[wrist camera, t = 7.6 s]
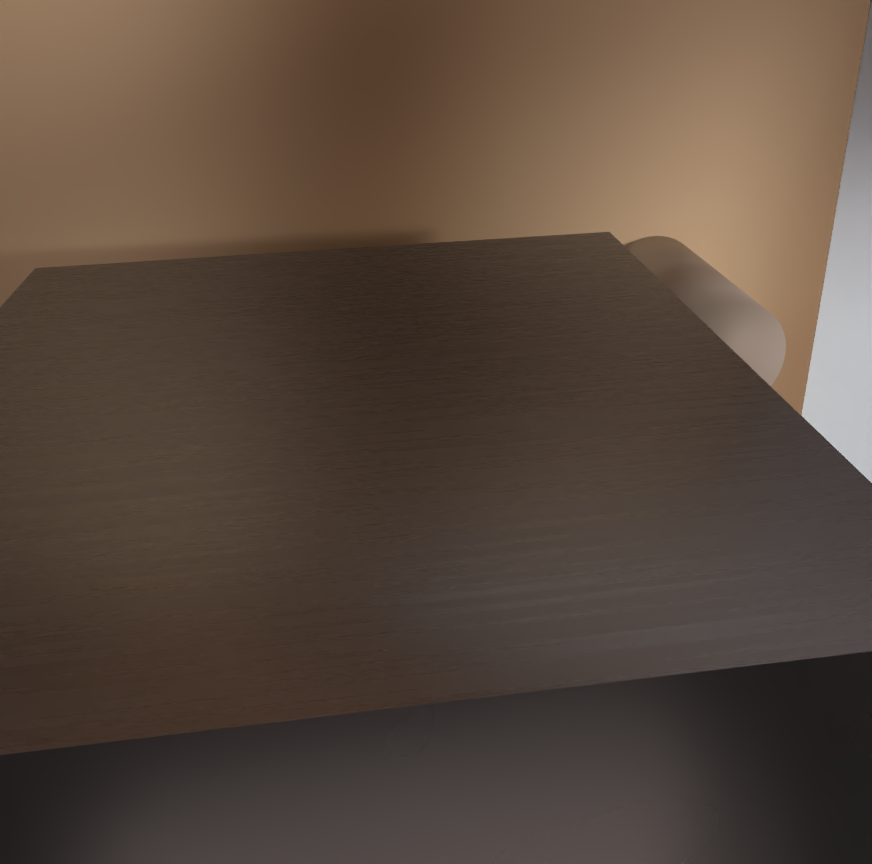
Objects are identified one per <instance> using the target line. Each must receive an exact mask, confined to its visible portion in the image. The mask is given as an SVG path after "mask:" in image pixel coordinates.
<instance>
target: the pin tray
mask: <svg viewBox="0 0 872 864" xmlns="http://www.w3.org/2000/svg"><path fill="white" fill-rule="evenodd" d="M870 4H871V0H0V307H1V306H2V305H3V304H4V302H5V301H6V300H7V299H8V298H9V297H10V296H11V295H12V294H13V292H14V291H15V290H16V289H17V288H18V287H19V286H20V285H21V283H22V282H23V281H24V280H25V279H26V278H27V277H28V276H29V275H30V273H31V272H32V271H33V270H34V269H35V268H45V267H61V266H76V265H92V264H108V263H124V262H139V261H155V260H171V259H187V258H202V257H218V256H234V255H250V254H265V253H281V252H297V251H313V250H328V249H344V248H360V247H376V246H392V245H407V244H423V243H439V242H455V241H470V240H486V239H502V238H518V237H533V236H549V235H565V234H581V233H596V232H610V233H611V234H612V235H613V236H614V237H615V238H616V239H617V240H619V241H620V242H621V243H622V244H623V245H624V246H625V247H626V248H627V249H628V250H629V251H630V252H631V253H632V254H633V255H634V256H635V257H636V258H637V259H638V260H639V261H640V262H641V263H642V264H644V265H645V266H646V267H647V268H648V269H649V270H650V271H651V272H652V273H653V274H654V275H655V276H656V277H657V278H658V279H659V280H660V281H661V282H662V283H663V284H664V285H665V286H666V287H668V288H669V289H670V290H671V291H672V292H673V293H674V294H675V295H676V296H677V297H678V298H679V299H680V300H681V301H682V302H683V303H684V304H685V305H686V306H687V307H688V308H689V309H690V310H691V311H693V312H694V313H695V314H696V315H697V316H698V317H699V318H700V319H701V320H702V321H703V322H704V323H705V324H706V325H707V326H708V327H709V328H710V329H711V330H712V331H713V332H714V333H715V334H717V335H718V336H719V337H720V338H721V339H722V340H723V341H724V342H725V343H726V344H727V345H728V346H729V347H730V348H731V349H732V350H733V351H734V352H735V353H736V354H737V355H738V356H739V357H741V358H742V359H743V360H744V361H745V362H746V363H747V364H748V365H749V366H750V367H751V368H752V369H753V370H754V371H755V372H756V373H757V374H758V375H759V376H760V377H761V378H762V379H763V380H764V381H766V382H767V383H768V384H769V385H770V386H771V387H772V388H773V389H774V390H775V391H776V392H777V393H778V394H779V395H780V396H781V397H782V398H783V399H784V400H785V401H786V402H787V403H788V404H790V405H791V406H792V407H793V408H794V409H795V410H796V411H797V412H798V413H799V414H800V415H801V414H802V408H803V402H804V396H805V390H806V384H807V378H808V372H809V366H810V360H811V354H812V348H813V342H814V336H815V330H816V325H817V319H818V313H819V307H820V301H821V295H822V289H823V283H824V277H825V271H826V265H827V259H828V253H829V247H830V241H831V235H832V230H833V224H834V218H835V212H836V206H837V200H838V194H839V188H840V182H841V176H842V170H843V164H844V158H845V152H846V146H847V140H848V134H849V129H850V123H851V117H852V111H853V105H854V99H855V93H856V87H857V81H858V75H859V69H860V63H861V57H862V51H863V45H864V39H865V34H866V28H867V22H868V16H869V10H870Z"/></svg>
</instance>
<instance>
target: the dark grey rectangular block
mask: <svg viewBox="0 0 872 864" xmlns="http://www.w3.org/2000/svg"><path fill="white" fill-rule="evenodd" d="M0 864H872V483H871V482H870V481H869V480H868V479H867V478H866V477H865V476H864V475H863V474H861V473H860V472H859V471H858V470H857V469H856V468H855V467H854V466H853V465H852V464H851V463H850V462H849V461H848V460H847V459H846V458H845V457H844V456H843V455H842V454H841V453H840V452H839V451H837V450H836V449H835V448H834V447H833V446H832V445H831V444H830V443H829V442H828V441H827V440H826V439H825V438H824V437H823V436H822V435H821V434H820V433H819V432H818V431H817V430H816V429H815V428H814V427H812V426H811V425H810V424H809V423H808V422H807V421H806V420H805V419H804V418H803V417H802V416H801V415H800V414H799V413H798V412H797V411H796V410H795V409H794V408H793V407H792V406H791V405H790V404H788V403H787V402H786V401H785V400H784V399H783V398H782V397H781V396H780V395H779V394H778V393H777V392H776V391H775V390H774V389H773V388H772V387H771V386H770V385H769V384H768V383H767V382H766V381H764V380H763V379H762V378H761V377H760V376H759V375H758V374H757V373H756V372H755V371H754V370H753V369H752V368H751V367H750V366H749V365H748V364H747V363H746V362H745V361H744V360H743V359H742V358H741V357H739V356H738V355H737V354H736V353H735V352H734V351H733V350H732V349H731V348H730V347H729V346H728V345H727V344H726V343H725V342H724V341H723V340H722V339H721V338H720V337H719V336H718V335H717V334H715V333H714V332H713V331H712V330H711V329H710V328H709V327H708V326H707V325H706V324H705V323H704V322H703V321H702V320H701V319H700V318H699V317H698V316H697V315H696V314H695V313H694V312H693V311H691V310H690V309H689V308H688V307H687V306H686V305H685V304H684V303H683V302H682V301H681V300H680V299H679V298H678V297H677V296H676V295H675V294H674V293H673V292H672V291H671V290H670V289H669V288H668V287H666V286H665V285H664V284H663V283H662V282H661V281H660V280H659V279H658V278H657V277H656V276H655V275H654V274H653V273H652V272H651V271H650V270H649V269H648V268H647V267H646V266H645V265H644V264H642V263H641V262H640V261H639V260H638V259H637V258H636V257H635V256H634V255H633V254H632V253H631V252H630V251H629V250H628V249H627V248H626V247H625V246H624V245H623V244H622V243H621V242H620V241H619V240H617V239H616V238H615V237H614V236H613V235H612V234H611V233H610V232H596V233H581V234H565V235H549V236H533V237H518V238H502V239H486V240H470V241H455V242H439V243H423V244H407V245H392V246H376V247H360V248H344V249H328V250H313V251H297V252H281V253H265V254H250V255H234V256H218V257H202V258H187V259H171V260H155V261H139V262H124V263H108V264H92V265H76V266H61V267H45V268H35V269H34V270H33V271H32V272H31V273H30V275H29V276H28V277H27V278H26V279H25V280H24V281H23V282H22V283H21V285H20V286H19V287H18V288H17V289H16V290H15V291H14V292H13V294H12V295H11V296H10V297H9V298H8V299H7V300H6V301H5V302H4V304H3V305H2V306H1V307H0Z"/></svg>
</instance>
